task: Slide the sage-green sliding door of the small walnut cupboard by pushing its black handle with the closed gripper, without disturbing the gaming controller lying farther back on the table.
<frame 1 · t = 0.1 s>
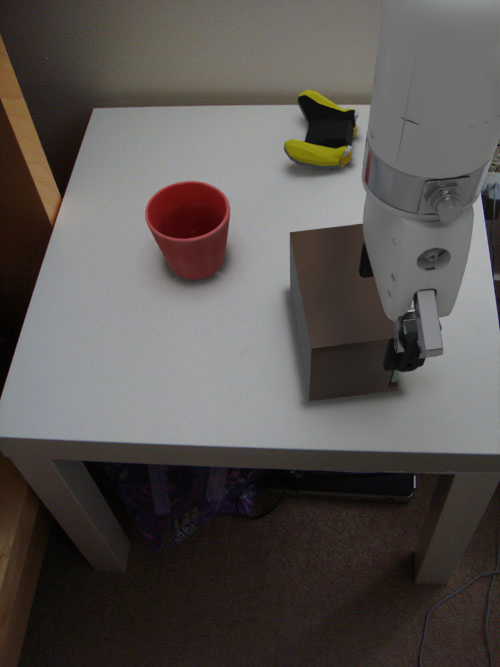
hand: (388, 317, 51), 21 cm above the table, tool pointing down, fingers open, 9 cm apart
sliding door: (408, 332, 68), point 6 cm above the table, slide at 0.0 cm
cupboard: (338, 339, 75), on the table
flower pot: (197, 259, 84), on the table
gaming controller: (322, 148, 95), on the table
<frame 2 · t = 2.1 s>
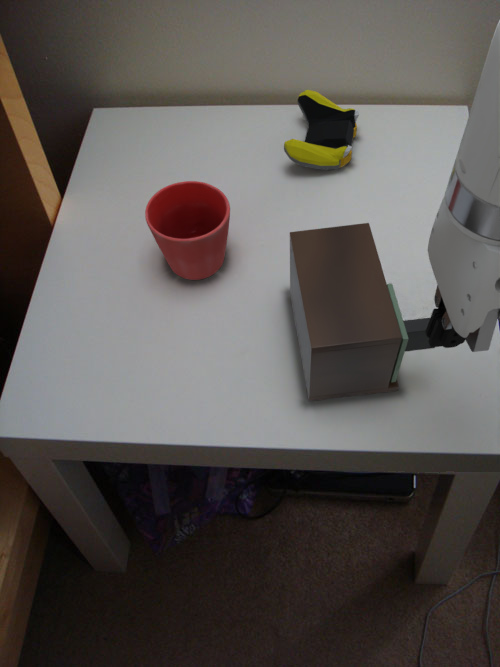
hand: (443, 338, 56), 16 cm above the table, tool pointing down, fingers closed
nothing on the table moved.
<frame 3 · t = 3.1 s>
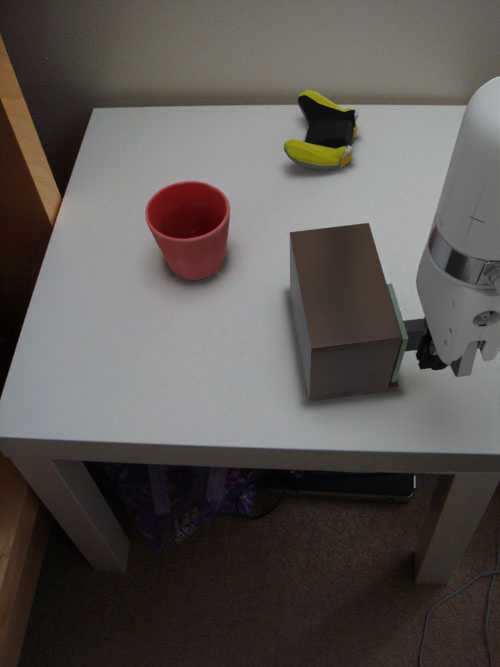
hand: (432, 361, 61), 10 cm above the table, tool pointing down, fingers closed
nothing on the table moved.
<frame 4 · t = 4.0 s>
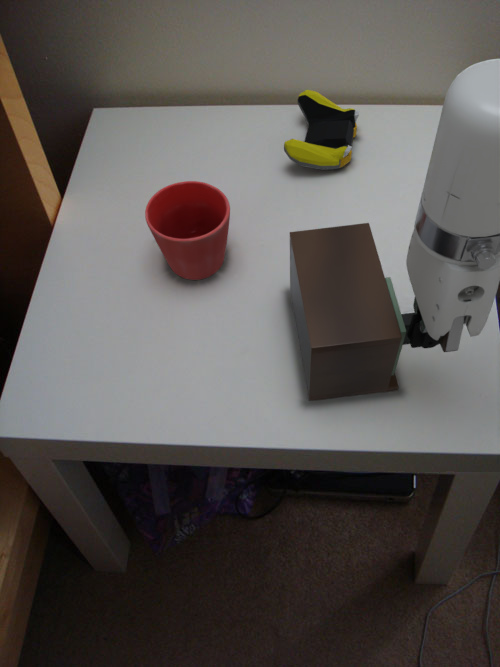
hand: (423, 340, 64), 9 cm above the table, tool pointing down, fingers closed
sliding door: (407, 325, 68), point 6 cm above the table, slide at 0.9 cm, touching gripper
everything else where it was.
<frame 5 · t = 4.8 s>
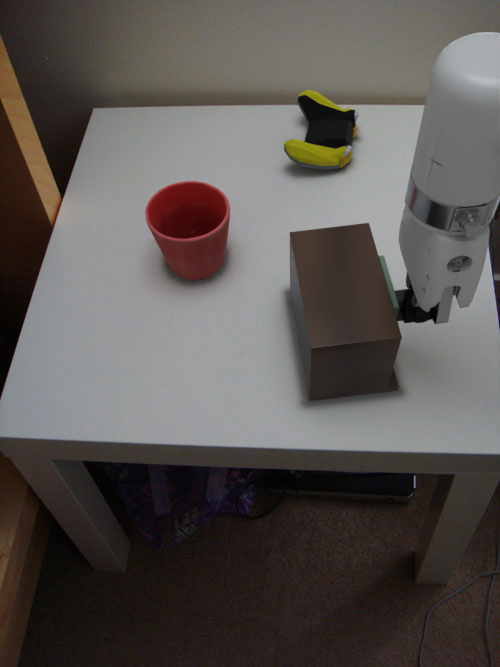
hand: (415, 315, 65), 9 cm above the table, tool pointing down, fingers closed
sliding door: (400, 303, 70), point 6 cm above the table, slide at 4.1 cm, touching gripper
everything else where it was.
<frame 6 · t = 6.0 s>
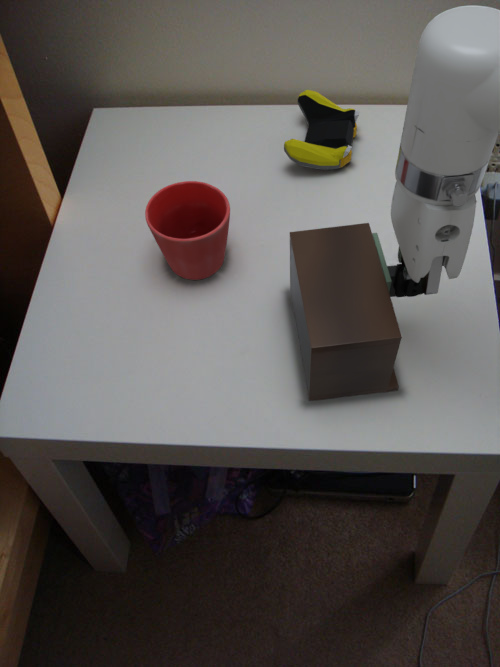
hand: (407, 290, 67), 9 cm above the table, tool pointing down, fingers closed
sliding door: (393, 280, 72), point 6 cm above the table, slide at 7.6 cm, touching gripper
everything else where it was.
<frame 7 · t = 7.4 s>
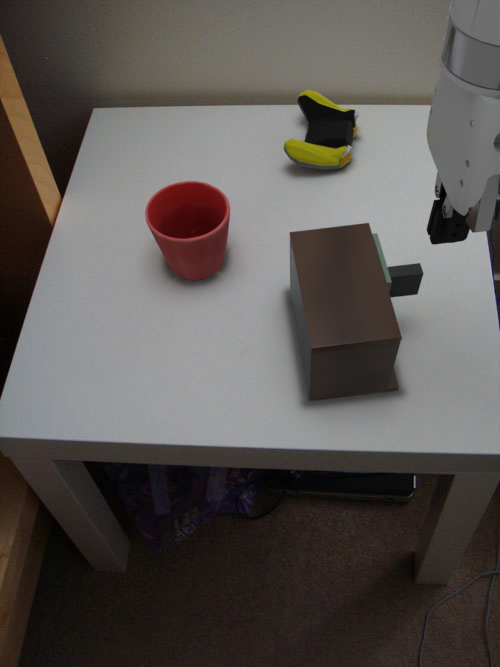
hand: (445, 236, 54), 23 cm above the table, tool pointing down, fingers closed
sliding door: (393, 280, 72), point 6 cm above the table, slide at 7.5 cm
everything else where it was.
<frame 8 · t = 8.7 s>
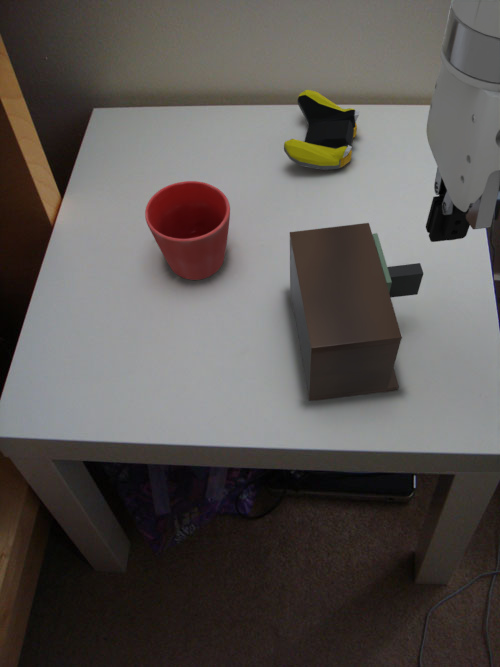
hand: (445, 233, 53), 23 cm above the table, tool pointing down, fingers closed
nothing on the table moved.
at the end: sliding door slide at 7.5 cm; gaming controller moved 0.2 cm from its start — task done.
